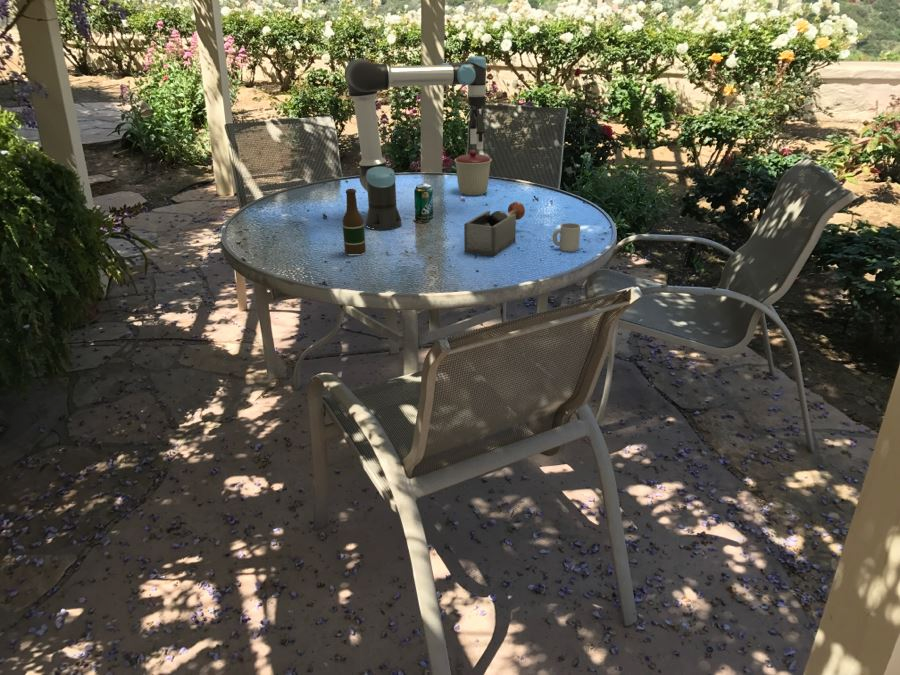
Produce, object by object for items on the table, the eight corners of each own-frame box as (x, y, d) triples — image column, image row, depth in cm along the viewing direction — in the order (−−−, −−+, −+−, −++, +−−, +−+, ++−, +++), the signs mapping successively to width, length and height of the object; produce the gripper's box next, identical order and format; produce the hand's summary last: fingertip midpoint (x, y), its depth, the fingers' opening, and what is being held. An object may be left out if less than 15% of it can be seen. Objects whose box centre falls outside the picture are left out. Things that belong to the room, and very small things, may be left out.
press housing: (487, 238, 278) (487, 210, 273) (515, 241, 272) (516, 214, 268) (464, 252, 262) (464, 223, 257) (493, 256, 256) (494, 227, 252)
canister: (447, 195, 342) (446, 151, 333) (467, 187, 356) (467, 145, 347) (479, 199, 333) (479, 154, 324) (498, 191, 346) (498, 148, 337)
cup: (580, 251, 260) (581, 228, 256) (553, 252, 260) (554, 228, 257) (577, 245, 267) (578, 222, 263) (551, 246, 267) (552, 223, 263)
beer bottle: (355, 248, 268) (351, 186, 258) (370, 252, 264) (365, 188, 254) (340, 253, 263) (335, 190, 253) (355, 257, 258) (350, 193, 248)
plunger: (507, 219, 287) (508, 199, 284) (525, 221, 284) (526, 201, 280) (488, 230, 273) (489, 210, 269) (507, 233, 269) (508, 212, 266)
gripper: (492, 98, 288) (491, 151, 297) (479, 92, 310) (478, 141, 319) (474, 99, 287) (474, 151, 296) (462, 92, 309) (462, 142, 318)
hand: (476, 146), depth 308 cm, fingers open, 13 cm apart
